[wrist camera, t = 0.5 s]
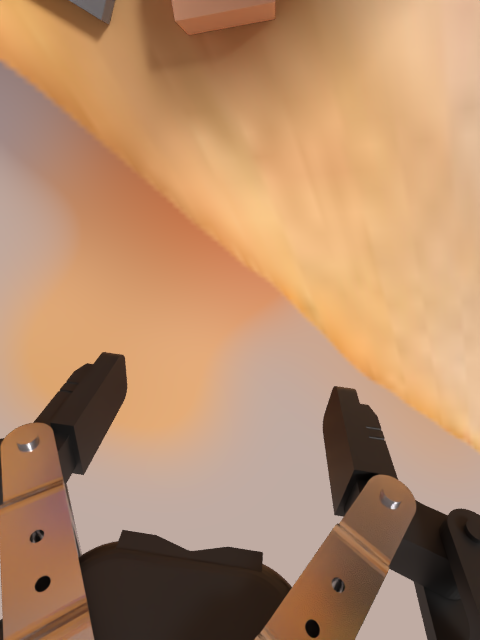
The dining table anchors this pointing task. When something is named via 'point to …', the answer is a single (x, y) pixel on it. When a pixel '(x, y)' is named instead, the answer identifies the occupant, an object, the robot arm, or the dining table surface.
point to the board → (97, 8)
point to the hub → (220, 13)
